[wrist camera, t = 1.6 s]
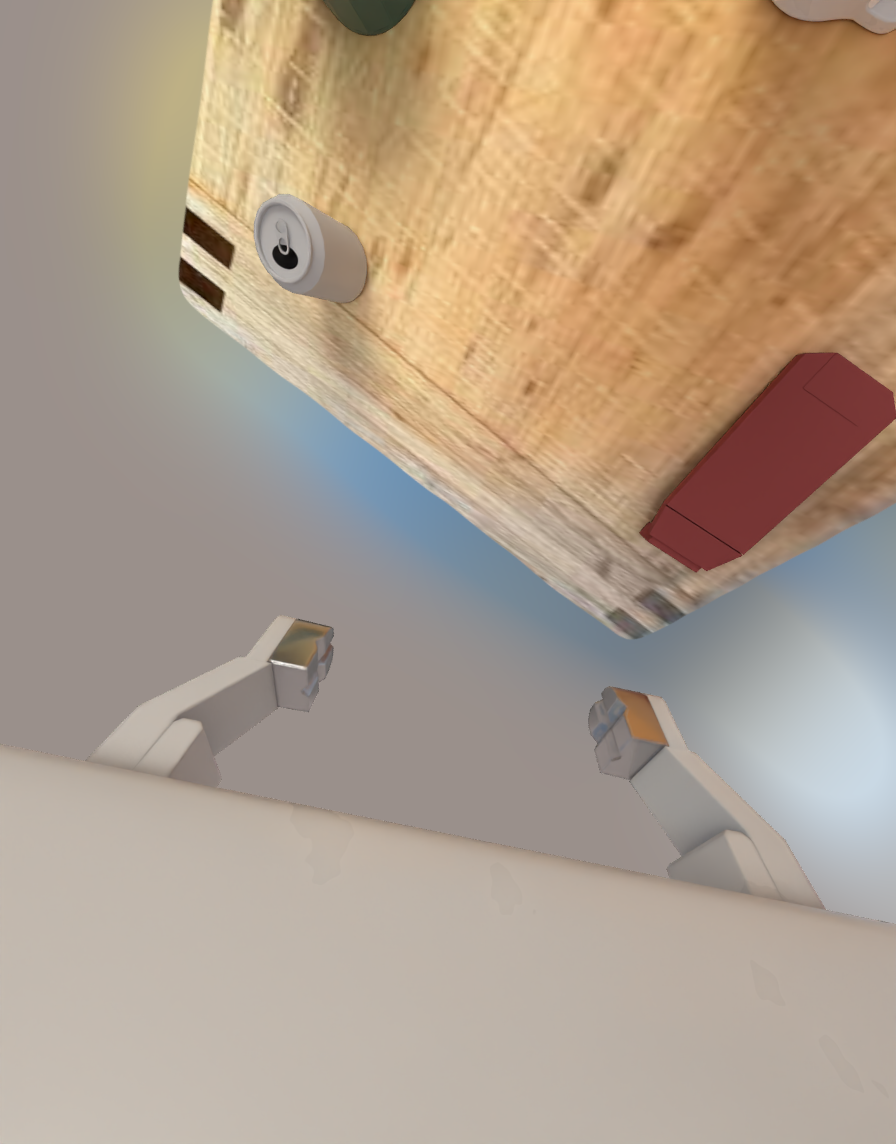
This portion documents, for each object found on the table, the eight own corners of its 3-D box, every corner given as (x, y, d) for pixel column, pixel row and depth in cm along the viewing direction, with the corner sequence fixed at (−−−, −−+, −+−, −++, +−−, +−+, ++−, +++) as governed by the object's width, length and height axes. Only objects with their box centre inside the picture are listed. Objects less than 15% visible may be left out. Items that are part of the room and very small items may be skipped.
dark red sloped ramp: (785, 347, 40) (627, 525, 51) (818, 339, 35) (638, 536, 46) (868, 406, 41) (695, 569, 52) (911, 405, 36) (711, 583, 47)
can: (315, 296, 46) (250, 281, 36) (315, 218, 42) (241, 178, 32) (367, 310, 46) (315, 299, 36) (372, 232, 41) (315, 196, 31)
